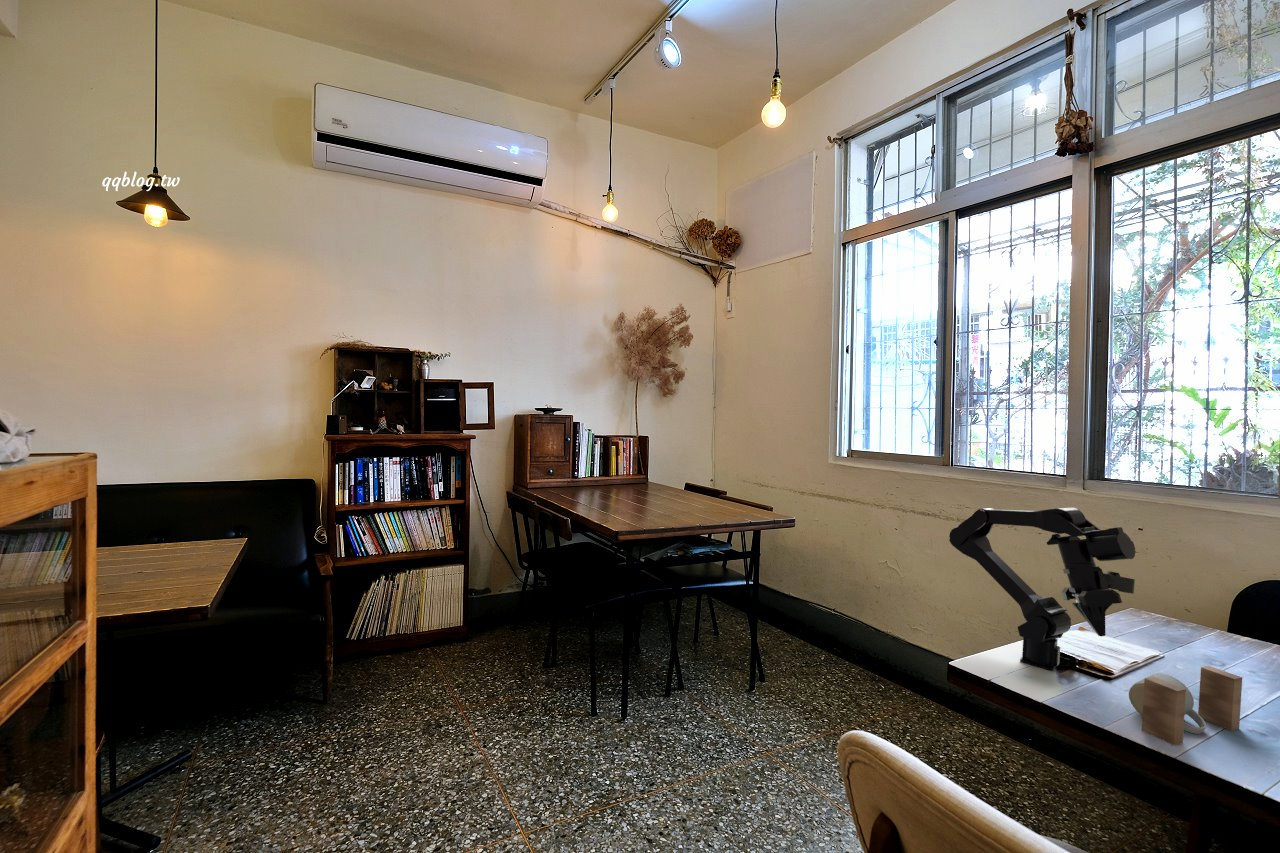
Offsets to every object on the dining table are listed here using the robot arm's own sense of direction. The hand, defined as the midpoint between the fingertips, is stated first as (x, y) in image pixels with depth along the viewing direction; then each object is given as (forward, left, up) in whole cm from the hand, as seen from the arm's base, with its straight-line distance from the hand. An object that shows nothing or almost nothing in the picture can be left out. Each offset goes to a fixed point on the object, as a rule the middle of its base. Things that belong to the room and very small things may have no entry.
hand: (1102, 636), depth 122 cm
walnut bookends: (+15, -8, -11) cm, 20 cm away
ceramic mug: (+11, -7, -12) cm, 17 cm away
